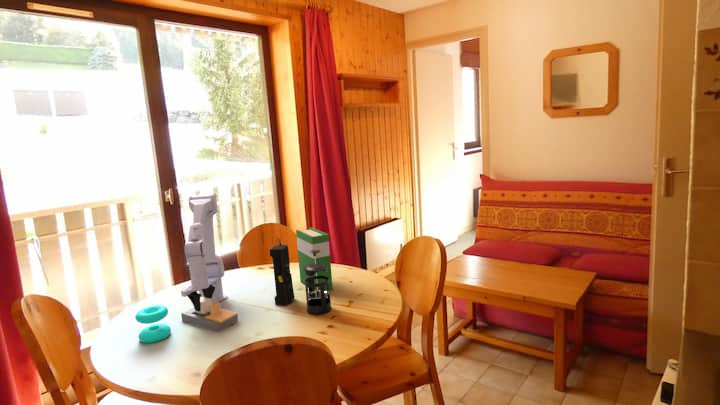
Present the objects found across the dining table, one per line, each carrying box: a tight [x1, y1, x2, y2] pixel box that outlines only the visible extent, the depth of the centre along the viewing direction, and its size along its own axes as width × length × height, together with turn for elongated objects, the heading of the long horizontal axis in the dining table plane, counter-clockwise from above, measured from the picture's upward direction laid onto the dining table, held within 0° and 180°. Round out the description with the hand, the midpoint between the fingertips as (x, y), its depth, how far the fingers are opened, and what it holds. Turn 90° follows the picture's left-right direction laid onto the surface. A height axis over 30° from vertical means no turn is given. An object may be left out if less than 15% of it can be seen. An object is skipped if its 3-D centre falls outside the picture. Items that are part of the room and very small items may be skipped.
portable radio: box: [269, 238, 296, 306], centre depth 168 cm, size 8×6×25 cm
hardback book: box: [295, 226, 333, 291], centre depth 184 cm, size 18×7×24 cm, turn 30°
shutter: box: [206, 301, 239, 323], centre depth 152 cm, size 8×8×4 cm
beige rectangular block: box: [193, 296, 212, 316], centre depth 157 cm, size 5×4×6 cm
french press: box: [304, 250, 333, 316], centre depth 159 cm, size 12×9×23 cm
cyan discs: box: [135, 304, 172, 344], centre depth 146 cm, size 10×10×10 cm
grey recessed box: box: [180, 307, 239, 332], centre depth 156 cm, size 20×9×3 cm, turn 58°
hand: (203, 308), depth 158 cm, fingers closed on beige rectangular block, 4 cm apart
